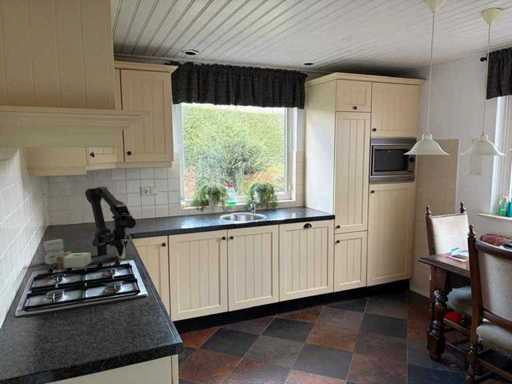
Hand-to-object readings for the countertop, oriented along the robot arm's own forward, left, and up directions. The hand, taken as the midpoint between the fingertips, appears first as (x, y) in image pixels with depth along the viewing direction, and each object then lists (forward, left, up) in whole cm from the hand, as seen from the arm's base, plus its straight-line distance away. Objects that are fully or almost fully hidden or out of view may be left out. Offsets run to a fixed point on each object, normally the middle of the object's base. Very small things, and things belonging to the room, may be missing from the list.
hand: (121, 255), depth 208 cm
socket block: (+12, -19, -1) cm, 22 cm away
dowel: (0, 0, -2) cm, 2 cm away
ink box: (-2, -36, -3) cm, 36 cm away
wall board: (+12, -10, -2) cm, 15 cm away
